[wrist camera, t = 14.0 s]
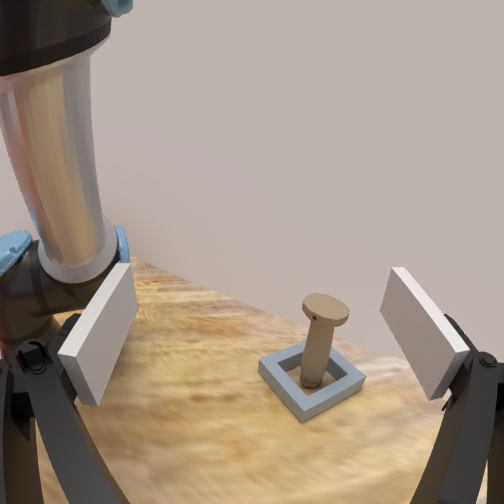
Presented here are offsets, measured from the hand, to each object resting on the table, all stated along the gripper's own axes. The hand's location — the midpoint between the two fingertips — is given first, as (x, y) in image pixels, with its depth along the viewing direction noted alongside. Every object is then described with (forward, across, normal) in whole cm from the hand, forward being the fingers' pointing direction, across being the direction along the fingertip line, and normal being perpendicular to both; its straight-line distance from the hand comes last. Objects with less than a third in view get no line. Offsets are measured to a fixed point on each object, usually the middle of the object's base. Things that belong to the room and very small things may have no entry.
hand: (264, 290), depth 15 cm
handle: (+20, +10, -30) cm, 37 cm away
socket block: (+20, +10, -30) cm, 37 cm away
